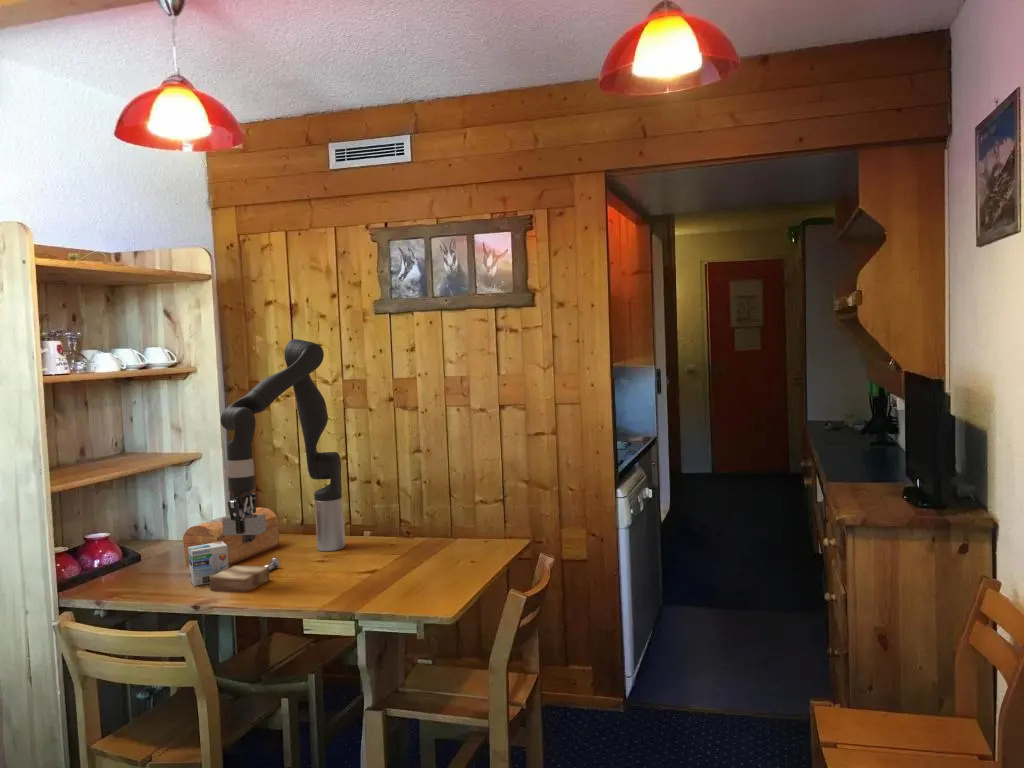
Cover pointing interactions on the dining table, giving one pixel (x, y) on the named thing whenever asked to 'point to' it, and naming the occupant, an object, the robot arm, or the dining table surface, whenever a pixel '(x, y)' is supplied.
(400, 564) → the dining table surface
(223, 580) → the stand
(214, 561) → the light bulb box
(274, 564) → the bolt
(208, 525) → the wooden box
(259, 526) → the block
